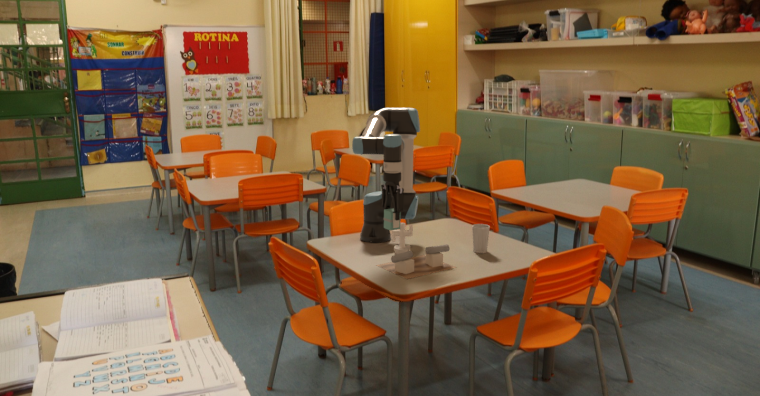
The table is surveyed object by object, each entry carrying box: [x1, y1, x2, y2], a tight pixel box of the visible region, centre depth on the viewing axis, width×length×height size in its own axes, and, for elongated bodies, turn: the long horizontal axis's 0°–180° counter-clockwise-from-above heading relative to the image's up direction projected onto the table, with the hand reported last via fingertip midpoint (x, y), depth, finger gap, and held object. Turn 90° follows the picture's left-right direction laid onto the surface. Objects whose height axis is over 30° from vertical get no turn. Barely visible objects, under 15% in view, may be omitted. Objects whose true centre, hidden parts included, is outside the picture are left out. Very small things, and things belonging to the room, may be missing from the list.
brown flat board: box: [375, 254, 457, 280], centre depth 262 cm, size 22×26×1 cm
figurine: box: [391, 222, 414, 255], centre depth 280 cm, size 7×9×15 cm
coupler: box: [384, 208, 402, 231], centre depth 263 cm, size 5×5×8 cm
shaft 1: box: [390, 250, 414, 274], centre depth 254 cm, size 10×6×8 cm, turn 135°
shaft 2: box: [425, 244, 450, 267], centre depth 264 cm, size 10×6×8 cm, turn 115°
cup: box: [471, 223, 491, 254], centre depth 286 cm, size 8×8×12 cm
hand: (392, 226), depth 263 cm, fingers closed on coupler, 5 cm apart
